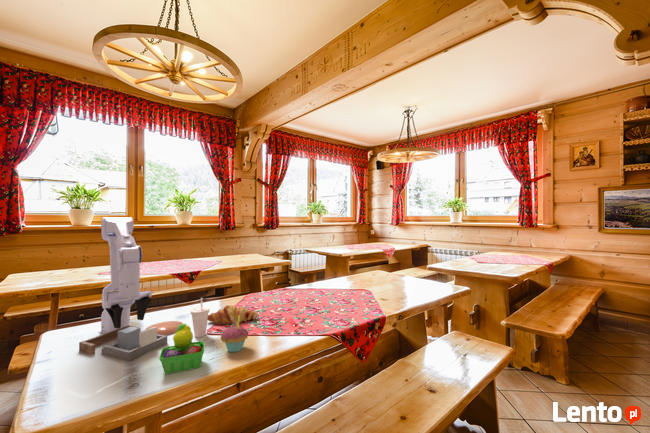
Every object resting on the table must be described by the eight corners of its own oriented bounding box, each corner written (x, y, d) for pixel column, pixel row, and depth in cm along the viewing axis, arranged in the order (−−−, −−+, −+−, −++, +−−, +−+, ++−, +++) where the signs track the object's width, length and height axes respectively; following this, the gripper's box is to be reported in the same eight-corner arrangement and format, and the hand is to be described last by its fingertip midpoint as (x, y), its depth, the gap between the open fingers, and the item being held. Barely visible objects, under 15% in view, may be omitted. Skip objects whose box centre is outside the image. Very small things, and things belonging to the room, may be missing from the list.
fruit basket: (158, 378, 76) (158, 336, 76) (162, 362, 84) (163, 324, 84) (204, 368, 80) (204, 329, 81) (204, 355, 89) (204, 319, 89)
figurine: (242, 335, 103) (241, 318, 104) (229, 337, 101) (228, 320, 102) (241, 332, 108) (240, 316, 109) (229, 334, 106) (228, 318, 107)
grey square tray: (101, 353, 89) (101, 331, 89) (141, 337, 101) (141, 318, 101) (128, 361, 84) (129, 337, 84) (167, 343, 96) (167, 322, 96)
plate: (136, 334, 105) (136, 330, 105) (167, 322, 117) (167, 319, 117) (161, 339, 100) (161, 336, 100) (190, 326, 112) (190, 323, 112)
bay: (79, 351, 91) (79, 342, 91) (128, 333, 106) (128, 325, 106) (91, 355, 89) (91, 345, 89) (140, 335, 103) (140, 327, 103)
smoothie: (202, 340, 100) (202, 300, 100) (186, 338, 101) (186, 299, 101) (213, 333, 106) (213, 295, 106) (198, 331, 107) (198, 294, 107)
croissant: (257, 324, 124) (258, 306, 127) (258, 321, 115) (258, 301, 119) (206, 328, 119) (208, 308, 123) (202, 324, 110) (204, 303, 114)
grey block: (117, 349, 93) (117, 331, 93) (130, 344, 97) (131, 326, 97) (126, 351, 91) (126, 333, 91) (139, 346, 95) (139, 328, 95)
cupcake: (253, 345, 95) (253, 309, 95) (237, 357, 87) (237, 318, 87) (232, 341, 98) (232, 307, 98) (215, 352, 90) (215, 315, 90)
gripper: (114, 288, 86) (113, 333, 86) (157, 279, 99) (157, 318, 99) (99, 286, 89) (99, 330, 88) (144, 278, 102) (143, 315, 102)
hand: (129, 323), depth 94 cm, fingers open, 7 cm apart
